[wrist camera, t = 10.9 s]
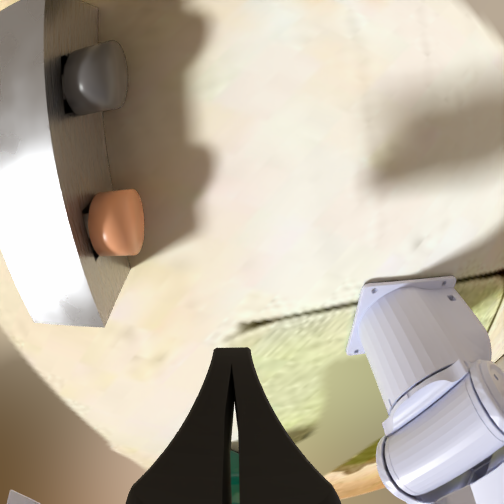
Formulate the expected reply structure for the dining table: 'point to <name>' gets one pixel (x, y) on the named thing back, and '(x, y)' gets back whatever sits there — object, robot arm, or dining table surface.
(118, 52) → the gray knob
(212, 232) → the dining table surface
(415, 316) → the robot arm
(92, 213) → the terracotta knob
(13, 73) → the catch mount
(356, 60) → the dining table surface
